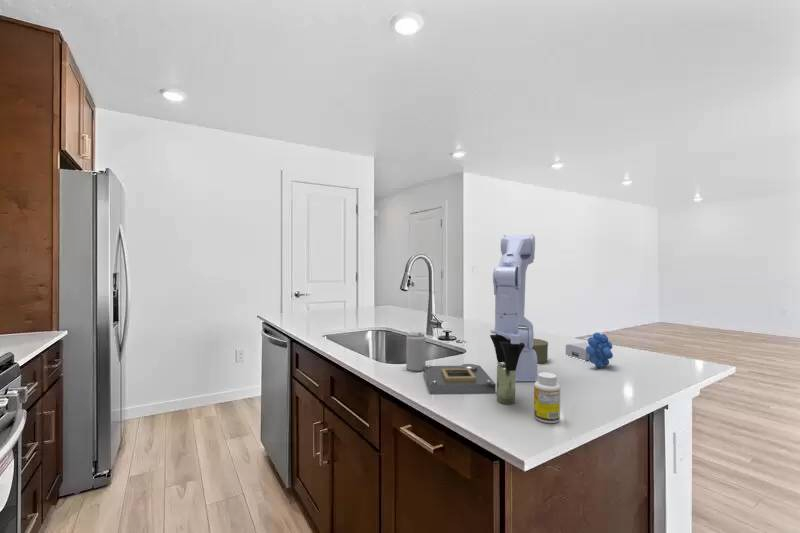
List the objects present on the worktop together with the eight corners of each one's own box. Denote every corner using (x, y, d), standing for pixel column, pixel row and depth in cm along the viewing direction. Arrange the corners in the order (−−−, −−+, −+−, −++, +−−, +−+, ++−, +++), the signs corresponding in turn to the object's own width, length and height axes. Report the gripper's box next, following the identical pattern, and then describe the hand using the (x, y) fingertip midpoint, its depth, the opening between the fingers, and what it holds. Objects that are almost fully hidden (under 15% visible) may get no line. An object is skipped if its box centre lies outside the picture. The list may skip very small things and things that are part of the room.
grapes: (598, 373, 123) (598, 336, 122) (580, 367, 129) (581, 332, 129) (623, 369, 127) (623, 333, 127) (604, 364, 134) (605, 329, 133)
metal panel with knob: (479, 373, 123) (479, 362, 123) (495, 393, 105) (495, 380, 105) (423, 373, 122) (423, 362, 122) (429, 393, 104) (429, 381, 104)
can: (548, 366, 131) (548, 346, 131) (511, 363, 135) (511, 343, 135) (548, 358, 142) (548, 339, 142) (514, 355, 146) (514, 337, 146)
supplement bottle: (539, 412, 92) (539, 369, 92) (563, 418, 88) (563, 374, 88) (530, 419, 88) (530, 375, 87) (555, 426, 84) (555, 380, 84)
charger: (615, 358, 142) (585, 362, 137) (594, 352, 151) (565, 356, 145) (615, 345, 142) (585, 349, 137) (594, 340, 151) (565, 343, 145)
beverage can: (424, 372, 123) (424, 335, 123) (404, 371, 125) (404, 334, 124) (426, 367, 130) (426, 331, 129) (408, 366, 131) (408, 331, 131)
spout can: (511, 398, 101) (512, 359, 101) (517, 404, 97) (518, 364, 96) (494, 398, 101) (494, 359, 101) (499, 405, 96) (499, 364, 96)
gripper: (483, 309, 105) (483, 358, 106) (499, 317, 91) (499, 374, 91) (509, 309, 106) (509, 358, 106) (528, 317, 91) (528, 374, 91)
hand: (506, 366), depth 99 cm, fingers open, 7 cm apart
